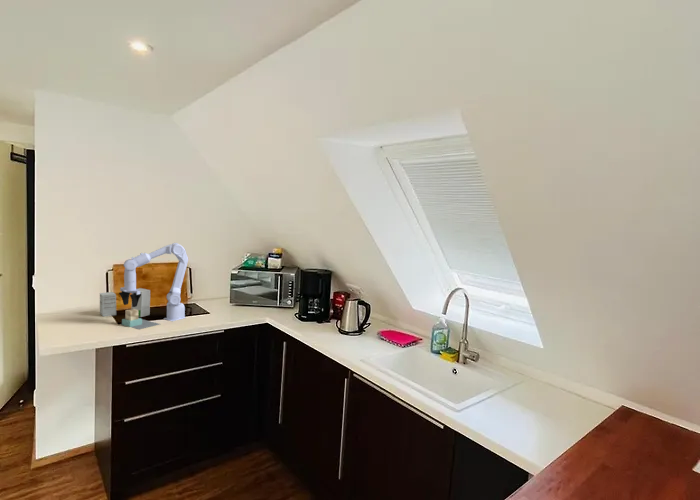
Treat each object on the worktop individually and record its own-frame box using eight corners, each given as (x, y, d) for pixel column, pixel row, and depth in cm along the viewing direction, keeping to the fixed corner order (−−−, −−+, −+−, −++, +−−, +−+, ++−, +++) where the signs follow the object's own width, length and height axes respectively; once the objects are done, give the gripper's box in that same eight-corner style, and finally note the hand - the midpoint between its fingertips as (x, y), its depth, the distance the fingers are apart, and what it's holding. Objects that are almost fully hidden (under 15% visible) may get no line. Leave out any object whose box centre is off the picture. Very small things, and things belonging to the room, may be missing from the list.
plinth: (134, 322, 235) (134, 316, 234) (142, 324, 231) (142, 318, 231) (122, 324, 229) (122, 319, 228) (130, 327, 225) (130, 321, 225)
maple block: (133, 317, 233) (133, 308, 232) (138, 318, 231) (138, 310, 230) (125, 319, 229) (125, 310, 228) (130, 320, 227) (130, 311, 226)
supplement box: (99, 314, 249) (99, 292, 248) (113, 312, 254) (113, 291, 253) (102, 316, 244) (101, 295, 242) (116, 315, 248) (116, 293, 247)
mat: (142, 319, 241) (142, 319, 241) (160, 324, 233) (160, 324, 233) (120, 325, 229) (120, 324, 229) (139, 330, 222) (139, 329, 222)
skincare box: (130, 315, 248) (130, 289, 247) (140, 313, 254) (140, 287, 253) (141, 317, 245) (141, 291, 244) (150, 315, 251) (150, 289, 250)
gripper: (114, 280, 231) (115, 304, 232) (131, 283, 224) (132, 309, 226) (126, 279, 237) (127, 302, 239) (143, 282, 230) (143, 306, 232)
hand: (130, 305), depth 232 cm, fingers open, 7 cm apart
